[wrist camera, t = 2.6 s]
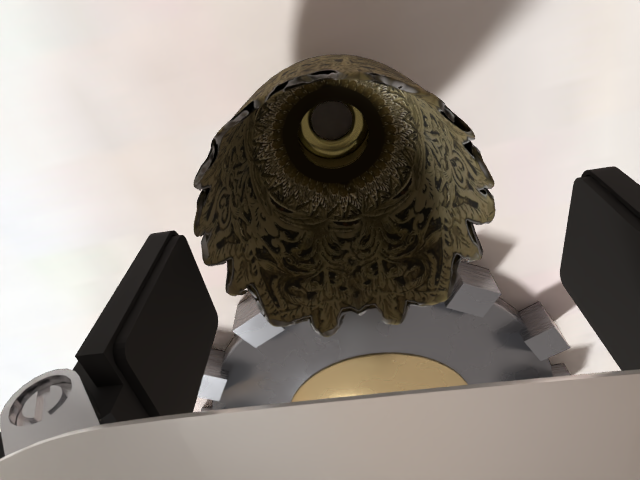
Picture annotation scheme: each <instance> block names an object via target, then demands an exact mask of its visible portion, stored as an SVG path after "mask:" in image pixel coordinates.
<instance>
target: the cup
mask: <svg viewBox="0 0 640 480" xmlns="http://www.w3.org/2000/svg"><path fill="white" fill-rule="evenodd" d="M328 101H341V102H343V103H344V104H345V105H347V106H348V108H349V109H350V111H351V113H352V119H353V120H352V126H351V128H350V130H349V132H348V133H347V134H346V135H345V136H344V137H342V138H340V139H337V140H326V139H323V138H321V137H319V136H318V135H317V134H316V133H315V132H314V130H313V128H312V125H311V116H312V113H313V111H314V109H315V108H316V107H317V105H319V104H321V103H323V102H328ZM474 139H475V135H474V133H473V131H472V130H471V129H470V127H469V126H468V125H467V124H466V123H465V122H464V121H463V120H461V119H460V118H459V117H458V116H457V115H456V114H454V113H453V112H452V111H451V110H450V109H449V108H448V107H447V106H446V105H445V103H444V102H443V101H442V100H440V99H439V98H438V97H436V96H435V95H434V94H432V93H430V92H428V91H426V90H424V89H423V88H422V87H420V86H419V85H417V84H416V83H414V82H413V81H412V80H410V79H409V78H407V77H406V76H404V75H403V74H401V73H399V72H398V71H396V70H394V69H392V68H390V67H388V66H386V65H384V64H382V63H379V62H376V61H374V60H371V59H367V58H362V57H358V56H352V55H325V56H318V57H314V58H310V59H306V60H304V61H301V62H298V63H296V64H294V65H292V66H290V67H288V68H286V69H284V70H282V71H281V72H279V73H278V74H276V75H275V76H273V77H272V78H271V79H269V80H268V81H267V82H266V83H265V84H264V85H262V86H261V87H260V88H259V89H258V90H257V91H256V92H255V93H254V94H253V95H252V96H251V98H250V99H249V100H248V101H247V102H246V103H245V104H244V105H243V106H242V107H241V109H240V110H239V111H238V112H237V113H236V114H235V116H234V117H233V118H232V119H231V120H230V121H229V122H228V123H226V124H225V125H224V126H223V127H222V128H221V129H220V130H219V132H218V133H217V134H216V136H215V137H214V138H213V140H212V143H211V150H210V152H209V155H208V157H207V159H206V160H205V162H204V163H203V164H202V165H201V167H200V169H199V171H198V173H197V175H196V177H195V180H194V187H195V188H197V189H199V190H200V191H201V189H202V191H201V193H200V195H199V197H198V200H197V212H196V216H195V221H194V234H195V235H196V236H197V237H199V236H200V237H201V236H202V235H203V238H202V241H201V246H202V258H203V261H204V263H205V264H206V265H207V266H214V265H221V264H225V263H226V261H227V279H226V292H227V293H228V294H229V295H232V296H236V295H243V294H246V292H248V291H249V292H250V293H251V294H252V295H253V297H254V299H255V302H256V305H257V307H258V310H259V311H260V312H261V314H262V315H263V317H264V318H265V319H266V320H267V321H268V322H269V323H270V324H271V325H272V326H275V327H287V326H291V325H295V324H299V323H302V322H307V321H309V322H310V325H311V327H312V329H313V330H314V331H315V332H316V333H318V334H319V335H321V336H323V337H330V336H332V335H334V334H335V333H337V331H338V329H339V328H340V327H341V325H342V323H343V321H342V320H343V319H344V316H345V315H346V314H344V315H343V316H342V317H341V319H340V316H341V314H342V313H346V312H353V313H355V314H357V315H360V316H362V315H363V314H364V313H365V312H366V310H370V309H377V310H378V311H379V312H380V313H381V315H382V318H383V320H382V321H383V322H384V323H385V324H392V325H398V324H401V323H402V322H403V321H404V320H405V318H406V316H407V313H408V310H409V306H410V305H412V306H413V305H415V306H418V307H427V306H432V305H435V304H438V303H441V302H445V301H446V300H447V299H449V297H450V295H451V293H452V291H453V288H454V285H455V282H456V278H457V275H458V268H459V264H460V262H461V260H462V259H466V258H468V259H469V260H468V261H465V262H464V263H466V262H467V263H468V262H471V261H476V260H480V259H481V258H482V254H483V249H482V246H481V244H480V241H479V239H478V237H477V235H476V232H475V228H474V226H473V224H476V225H482V224H489V223H490V222H491V221H492V220H493V218H494V216H495V203H494V198H493V195H492V194H491V193H490V192H489V190H488V189H491V188H492V187H493V186H494V180H493V178H492V176H491V174H490V172H489V171H488V169H487V167H486V165H485V163H484V162H483V159H482V156H481V153H480V151H479V150H478V149H477V147H475V146H474V145H473V144H472V143H471V141H470V140H474ZM461 257H463V258H461ZM246 288H248V291H247V290H244V289H246ZM243 290H244V291H243ZM339 319H340V321H339ZM338 324H339V326H338Z"/></svg>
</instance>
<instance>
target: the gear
mask: <svg viewBox="0 0 640 480" xmlns="http://www.w3.org/2000/svg"><path fill="white" fill-rule="evenodd" d="M500 295H501V292H500V290H499V288H498V286H497V285H496V283H495V281H494V279H493V277H492V275H491V273H490V271H489V269H485V268H482V267H479V266H475V265H472V264H469V263H464V262H462V261H461V262H460V264H459V268H458V275H457V278H456V282H455V285H454V288H453V291H452V293H451V295H450V297H449V299H447V300H446V301H445V302H441V303H438V304H435V305H432V306H427V307H418V306H415V305H413V306H412V305H410V306H409V310H408V313H407V316H406V318H405V320H404V321H403V322H402V323H401V324H398V325H392V324H385V323H384V322H383V321H382V320H383V318H382V315H381V313H380V312H379V311H378V310H377V309H370V310H366V312H365V313H364V314H363V315H362V316H360V315H357V314H355V313H353V312H346V313H342V314H341V316H340V319H341V317H342V316H343V315H344V314H346V315H345V316H344V319H343V320H342V321H343V323H342V325H341V327H340V328H339V329H338V331H337V333H335V334H334V335H332V336H330V337H323V336H321V335H319V334H318V333H316V332H315V331H314V330H313V329H312V327H311V325H310V322H309V321H307V322H302V323H299V324H295V325H291V326H287V327H275V326H272V325H271V324H270V323H269V322H268V321H267V320H266V319H265V318H264V317H263V315H262V314H261V312H260V311H259V310H258V307H257V305H256V302H255V299H254V297H253V295H252V296H250V297H249V298H248V299H246V300H245V301H243V302H242V303H240V304H239V305H237V310H236V315H235V320H234V325H233V330H232V331H233V332H234V333H235V334H236V335H235V337H234V338H233V339H232V341H231V342H230V344H229V345H228V347H227V348H226V350H225V352H224V351H220V350H215V349H211V351H210V355H209V358H208V362H207V365H206V368H205V372H204V375H203V379H202V382H201V386H200V389H199V393H198V396H197V397H200V398H205V399H210V400H212V407H209V408H202V409H201V411H210V410H220V409H230V408H239V407H249V406H259V405H268V404H278V403H288V402H298V401H307V400H317V399H327V398H337V397H347V396H357V395H367V394H378V393H388V392H398V391H408V390H419V389H429V388H439V387H450V386H460V385H471V384H481V383H492V382H503V381H514V380H525V379H535V378H546V377H557V376H568V375H570V373H569V372H568V370H567V368H566V366H565V365H564V364H558V365H551V364H550V362H549V359H548V358H549V357H551V356H554V355H556V354H558V353H560V352H562V351H564V350H567V349H569V348H570V346H569V345H568V343H567V342H566V340H565V338H564V337H563V335H562V333H561V332H560V330H559V329H558V327H557V325H556V324H555V322H554V321H553V320H552V318H551V317H550V316H549V314H548V313H547V312H546V310H545V309H544V308H543V306H542V305H541V304H540V302H537V303H535V304H533V305H531V306H529V307H527V308H525V309H524V310H522V311H520V312H518V311H517V310H516V309H514V308H513V307H512V306H510V305H509V304H508V303H506V302H505V301H503V300H502V299H501V298H499V296H500ZM340 319H339V321H340ZM338 326H339V324H338Z"/></svg>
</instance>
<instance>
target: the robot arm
mask: <svg viewBox="0 0 640 480" xmlns="http://www.w3.org/2000/svg"><path fill="white" fill-rule="evenodd" d="M560 277H561V281H562V284H563V286H564V287H565V289H566V290H567V292H568V293H569V295H570V296H571V297H572V299H573V300H574V302H575V303H576V305H577V306H578V308H579V309H580V311H581V312H582V313H583V315H584V316H585V318H586V319H587V321H588V322H589V324H590V325H591V327H592V328H593V330H594V331H595V332H596V334H597V335H598V337H599V338H600V340H601V341H602V343H603V344H604V346H605V347H606V348H607V350H608V351H609V353H610V354H611V356H612V357H613V359H614V360H615V362H616V363H617V365H618V366H619V367H620V369H621V370H622V371H612V372H601V373H590V374H579V375H568V376H557V377H546V378H535V379H525V380H514V381H503V382H492V383H481V384H471V385H460V386H450V387H439V388H429V389H419V390H408V391H398V392H388V393H378V394H367V395H357V396H347V397H337V398H327V399H317V400H307V401H298V402H288V403H278V404H268V405H259V406H249V407H239V408H230V409H220V410H210V411H201V412H193V410H194V406H195V403H196V399H197V396H198V393H199V389H200V386H201V382H202V379H203V375H204V372H205V368H206V365H207V362H208V358H209V355H210V351H211V348H212V344H213V341H214V338H215V334H216V331H217V327H218V316H217V312H216V310H215V307H214V305H213V302H212V300H211V298H210V295H209V293H208V290H207V288H206V285H205V283H204V281H203V278H202V276H201V273H200V271H199V269H198V266H197V264H196V261H195V259H194V257H193V254H192V252H191V249H190V247H189V244H188V242H187V240H186V238H185V237H184V236H183V235H178V234H177V232H176V231H167V232H160V233H153V234H151V235H150V236H149V237H148V238H147V240H146V242H145V243H144V245H143V247H142V248H141V250H140V251H139V253H138V255H137V256H136V258H135V260H134V261H133V263H132V264H131V266H130V268H129V269H128V271H127V273H126V274H125V276H124V277H123V279H122V281H121V282H120V284H119V286H118V287H117V289H116V290H115V292H114V294H113V295H112V297H111V299H110V300H109V302H108V303H107V305H106V307H105V308H104V310H103V312H102V313H101V315H100V316H99V318H98V320H97V321H96V323H95V325H94V326H93V328H92V329H91V331H90V333H89V334H88V336H87V338H86V339H85V341H84V342H83V344H82V346H81V347H80V349H79V351H78V352H77V354H76V355H75V357H76V358H77V360H78V362H77V364H76V365H75V367H74V369H73V370H70V369H56V370H53V371H49V372H46V373H44V374H42V375H40V376H38V377H36V378H34V379H32V380H31V381H29V382H28V383H26V384H25V385H23V386H22V387H21V388H20V389H19V390H18V391H17V392H16V393H15V394H13V395H12V397H11V398H10V399H9V401H8V402H7V403H6V404H5V406H4V408H3V410H2V412H1V414H0V430H1V432H0V480H640V185H639V184H638V183H636V182H635V181H634V180H632V179H631V178H630V177H629V176H627V175H626V174H625V173H623V172H622V171H621V170H620V169H618V168H616V167H606V168H599V169H592V170H586V171H585V172H583V174H582V176H581V177H580V178H577V179H576V180H575V181H574V184H573V190H572V197H571V203H570V209H569V216H568V222H567V229H566V235H565V242H564V248H563V254H562V261H561V267H560Z"/></svg>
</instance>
